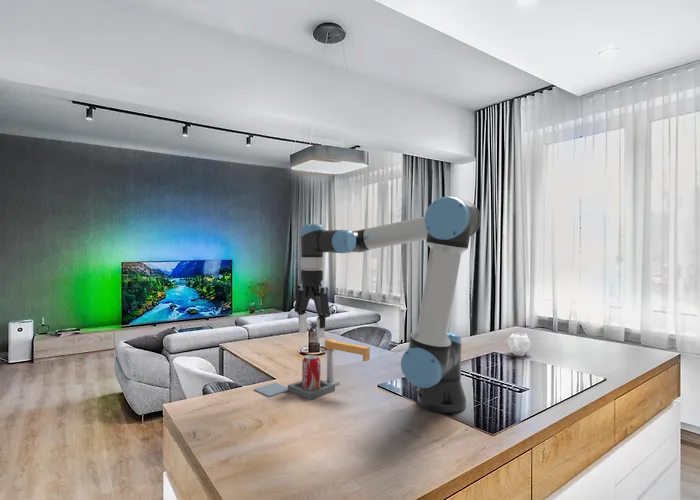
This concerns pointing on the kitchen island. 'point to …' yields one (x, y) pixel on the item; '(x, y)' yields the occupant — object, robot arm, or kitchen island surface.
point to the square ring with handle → (325, 385)
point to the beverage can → (311, 372)
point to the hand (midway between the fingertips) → (311, 335)
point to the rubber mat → (272, 389)
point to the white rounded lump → (519, 343)
